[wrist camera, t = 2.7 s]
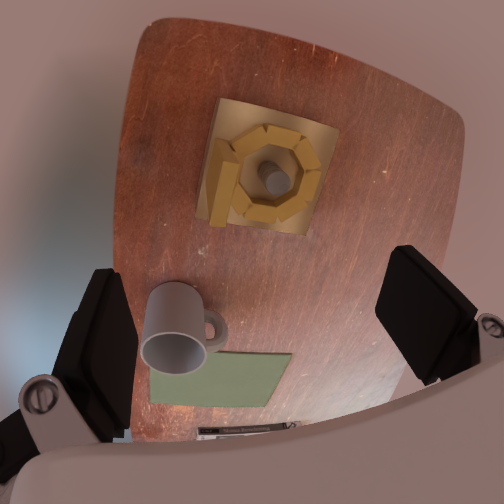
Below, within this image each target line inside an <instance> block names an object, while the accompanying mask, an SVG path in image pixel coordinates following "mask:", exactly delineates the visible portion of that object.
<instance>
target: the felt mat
mask: <svg viewBox="0 0 504 504" xmlns="http://www.w3.org/2000/svg"><path fill="white" fill-rule="evenodd" d="M291 356H292V354H276V353H243V352H224V351H218V352H214V353H207V359H206V362H205V363H204V365H203V366H202V367H201V368H200V369H198V370H196V371H195V372H192V373H189V374H185V375H167V374H163V373H160V372H157V371H155V370H153V369H151V368H150V403H158V404H169V405H182V406H200V407H265V406H266V404H267V402H268V400H269V399H270V397H271V395H272V393H273V391H274V389H275V387H276V385H277V384H278V382H279V380H280V378H281V376H282V374H283V372H284V370H285V368H286V366H287V364H288V362H289V360H290V358H291Z"/></svg>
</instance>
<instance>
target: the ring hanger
mask: <svg viewBox="0 0 504 504" xmlns="http://www.w3.org/2000/svg"><path fill="white" fill-rule="evenodd" d="M229 142H230V144H231V146H232V147H233V148H230V146H229V144H228V143H227V141H226V140H222V139H217V138H215V140H214V144H213V148H212V153H211V158H210V162H209V167H208V172H207V176H206V181H205V184H206V196H207V207H208V218H209V225H210V226H215V227H221V228H225V227H226V223H227V219H228V214H229V210H230V206H232V207H233V209H234V210H235V212H236V213H237V214H238V216H240V215H241V214H242V215H243V217H244V219H247V220H253V221H259V222H265V223H271V224H275V223H276V220H277V217H278V219H279V221H280V222H281V223H282V222H283V221H285V220H287V219H288V218H290V217H292V216H293V215H295V214H297V213H298V212H300V211H301V210H303V209H305V208H306V207H308V204H307V203H306V201H305V200H307V201H312V200H313V197H314V194H315V191H316V188H317V185H318V182H319V179H320V176H321V173H322V172H321V171H320V170H319V169H317V168H318V167H320V166H321V163H320V161H319V159H318V157H317V155H316V153H315V151H314V150H313V148H312V146H311V144H310V142H309V140H308V138H307V137H305V136H303V135H302V133H300V132H298V131H296V130H292V129H288V128H284V127H281V126H277V125H273V124H269V123H264V127H263V126H262V125H260V124H257V125H255V126H253V127H252V128H250V129H248V130H247V131H245V132H243V133H242V134H240V135H238V136H237V137H235V138H233V139H232V140H230V141H229ZM267 144H270V145H275V146H279V147H283V148H287V149H289V150H290V152H291V154H292V155H293V157H294V159H295V161H296V162H297V164H298V166H299V169H298V172H297V176H296V179H295V182H294V186H293V189H292V190H290V191H288V192H287V193H285V194H283V195H282V196H280V197H279V198H277V199H275V200H274V201H268V200H263V199H257V198H252V197H249V195H248V194H247V192H246V191H245V189H244V188H243V186H242V185H241V183H240V182H239V180H240V176H241V172H242V168H243V164H244V160H245V158H246V157H247V156H249V155H250V154H252V153H254V152H255V151H257V150H259V149H260V148H262V147H264V146H265V145H267Z"/></svg>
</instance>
